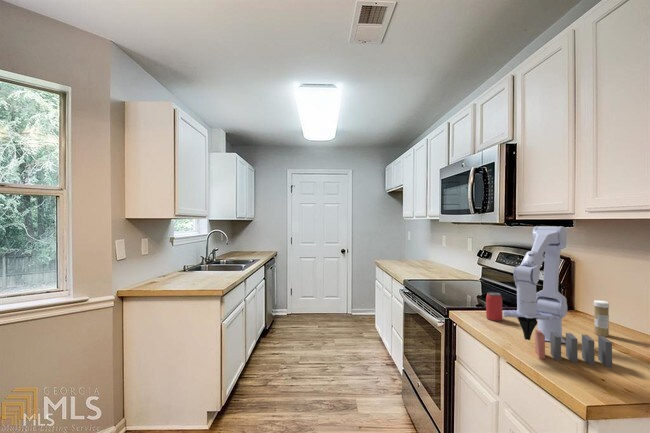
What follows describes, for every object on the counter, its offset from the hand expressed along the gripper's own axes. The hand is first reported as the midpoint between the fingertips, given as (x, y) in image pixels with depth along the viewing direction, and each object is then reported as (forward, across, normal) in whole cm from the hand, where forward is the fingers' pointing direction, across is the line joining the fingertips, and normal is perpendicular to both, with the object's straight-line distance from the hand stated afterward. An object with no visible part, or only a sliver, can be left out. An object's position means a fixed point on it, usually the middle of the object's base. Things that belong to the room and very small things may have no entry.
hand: (527, 338), depth 109 cm
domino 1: (+5, +8, 0) cm, 10 cm away
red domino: (+5, +4, 0) cm, 7 cm away
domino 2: (+5, +13, 0) cm, 14 cm away
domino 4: (+5, +22, 0) cm, 22 cm away
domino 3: (+5, +17, 0) cm, 18 cm away
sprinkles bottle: (+6, +32, +28) cm, 43 cm away
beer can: (+6, -5, +36) cm, 37 cm away
